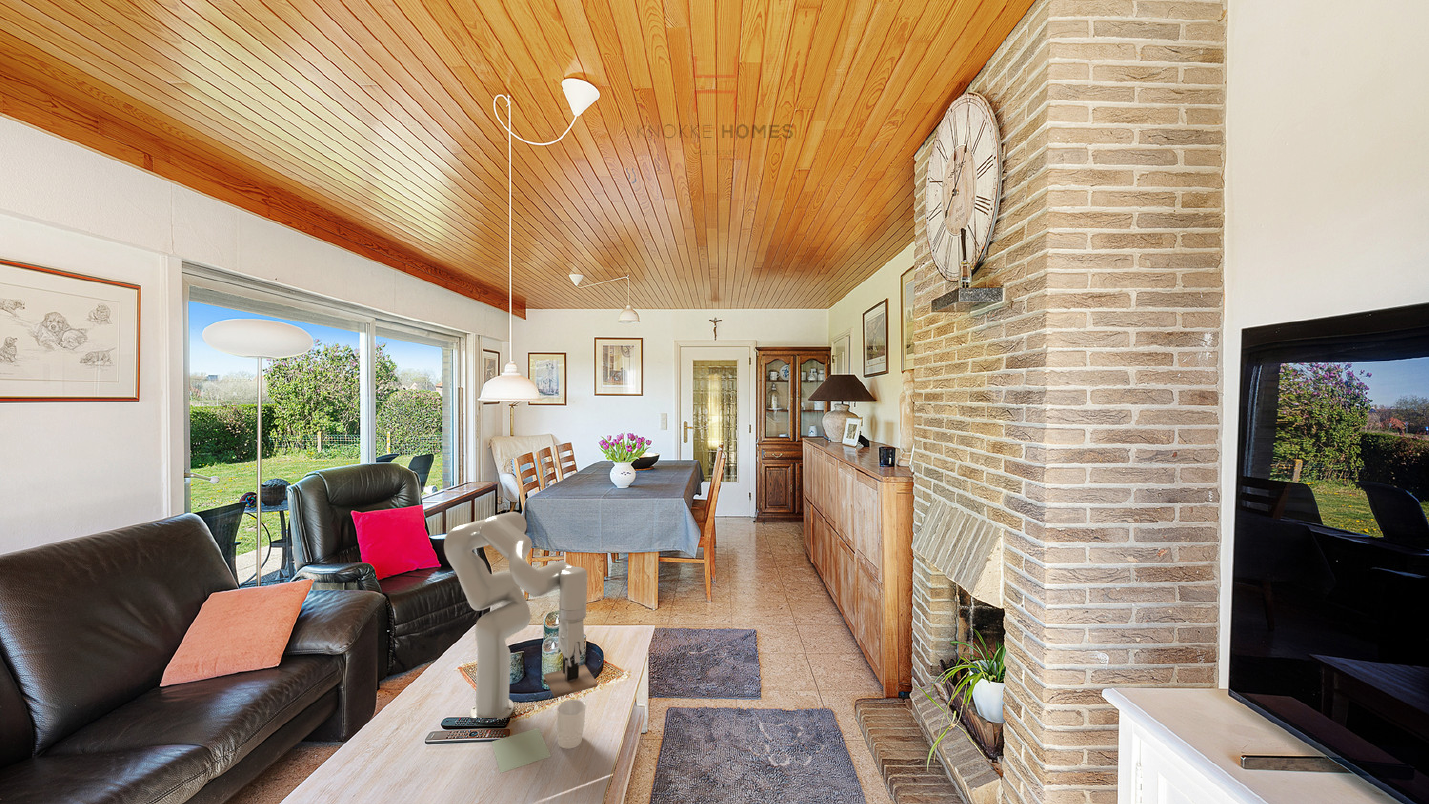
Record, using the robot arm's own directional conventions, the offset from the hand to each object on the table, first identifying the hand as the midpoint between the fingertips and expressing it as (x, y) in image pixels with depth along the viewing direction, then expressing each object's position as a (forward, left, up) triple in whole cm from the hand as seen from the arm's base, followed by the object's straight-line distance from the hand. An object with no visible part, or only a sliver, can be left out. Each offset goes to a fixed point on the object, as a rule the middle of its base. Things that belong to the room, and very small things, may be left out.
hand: (570, 675), depth 148 cm
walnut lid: (0, 0, -2) cm, 2 cm away
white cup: (0, +1, -20) cm, 20 cm away
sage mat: (-3, -12, -19) cm, 23 cm away
